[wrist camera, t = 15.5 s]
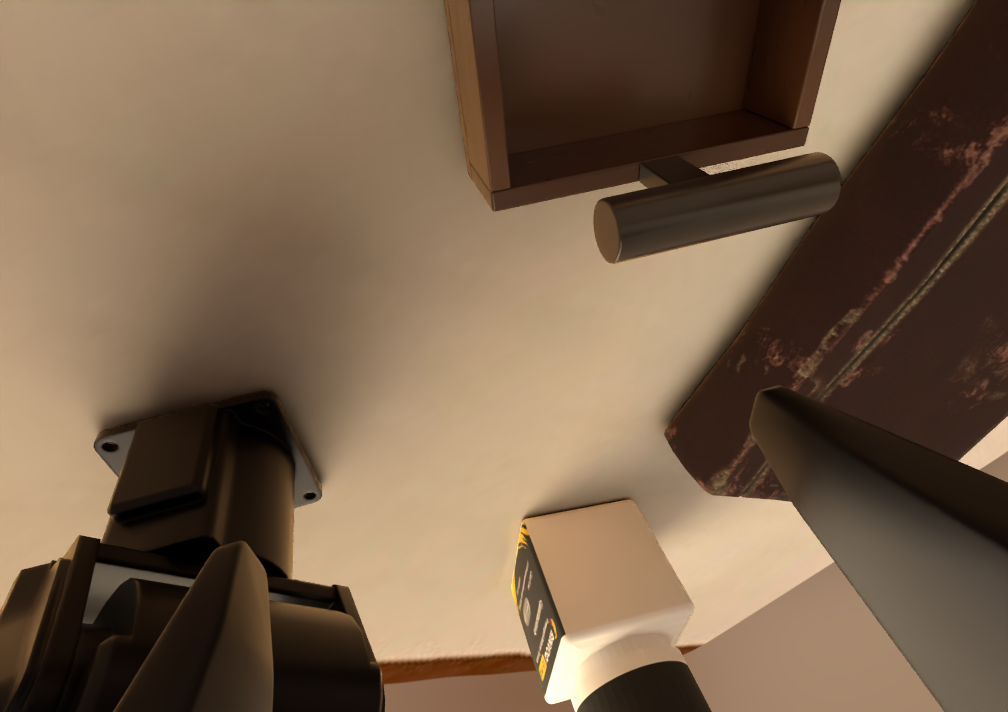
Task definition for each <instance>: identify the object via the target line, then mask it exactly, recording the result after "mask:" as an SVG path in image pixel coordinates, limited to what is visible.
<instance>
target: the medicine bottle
mask: <svg viewBox="0 0 1008 712" xmlns="http://www.w3.org/2000/svg"><path fill="white" fill-rule="evenodd" d="M511 590H512V593H513V597H514V600H515V603H516V606H517V610H518V613H519V616H520V619H521V623H522V626H523V629H524V632H525V636H526V639H527V642H528V645H529V649H530V652H531V655H532V658H533V662H534V665H535V668H536V671H537V675H538V678H539V681H540V684H541V687H542V691H543V694H544V697H545V700H546V701H547V703H549V704H554V703H558V702H561V701H565V700H568V699H571V701H572V703H573V707H574V709H575V712H711V710H710V708H709V706H708V704H707V702H706V700H705V698H704V696H703V694H702V692H701V690H700V688H699V687H698V685H697V683H696V681H695V679H694V677H693V675H692V673H691V671H690V669H689V668H688V666H687V663H686V662H685V660H684V658H683V656H682V654H681V652H680V650H679V649H678V648H676V647H675V645H676V643H677V641H678V639H679V637H680V635H681V634H682V632H683V630H684V628H685V626H686V624H687V622H688V620H689V619H690V617H691V615H692V613H693V610H694V605H693V603H692V601H691V599H690V597H689V596H688V594H687V592H686V590H685V589H684V587H683V585H682V584H681V582H680V580H679V578H678V577H677V575H676V573H675V571H674V570H673V568H672V566H671V564H670V563H669V561H668V559H667V557H666V556H665V554H664V552H663V551H662V549H661V547H660V545H659V544H658V542H657V540H656V538H655V537H654V535H653V533H652V531H651V530H650V528H649V526H648V524H647V523H646V521H645V519H644V518H643V516H642V514H641V512H640V511H639V509H638V507H637V505H636V504H635V502H634V501H632V500H623V501H618V502H612V503H607V504H602V505H596V506H591V507H586V508H580V509H575V510H570V511H565V512H559V513H554V514H549V515H543V516H538V517H533V518H527V519H524V520H523V521H522V523H521V527H520V534H519V540H518V547H517V553H516V559H515V566H514V572H513V579H512V585H511Z"/></svg>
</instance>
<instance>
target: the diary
mask: <svg viewBox="0 0 1008 712" xmlns="http://www.w3.org/2000/svg"><path fill="white" fill-rule="evenodd" d="M774 386H784V387H787V388H789V389H791V390H794V391H796V392H798V393H801V394H803V395H805V396H808V397H810V398H812V399H815V400H817V401H819V402H822V403H824V404H826V405H829V406H831V407H833V408H836V409H838V410H840V411H843V412H845V413H847V414H850V415H852V416H854V417H857V418H859V419H861V420H863V421H866V422H868V423H870V424H873V425H875V426H877V427H880V428H882V429H884V430H887V431H889V432H891V433H894V434H896V435H898V436H901V437H903V438H905V439H908V440H910V441H912V442H915V443H917V444H919V445H922V446H924V447H926V448H929V449H931V450H933V451H936V452H938V453H940V454H943V455H945V456H947V457H950V458H952V459H954V460H956V461H959V460H960V459H961V458H962V457H963V456H964V455H965V454H966V453H967V452H968V451H970V450H971V449H972V448H973V447H974V446H975V445H976V444H977V443H978V442H979V441H981V440H982V439H983V438H984V437H985V436H986V435H987V434H988V433H989V432H990V431H992V430H993V429H994V428H995V427H996V426H997V425H998V424H999V423H1000V422H1001V421H1003V420H1004V419H1005V418H1006V417H1007V416H1008V0H977V1H976V2H975V4H974V5H973V7H972V8H971V9H970V11H969V12H968V14H967V15H966V17H965V18H964V20H963V21H962V23H961V24H960V25H959V27H958V28H957V30H956V31H955V33H954V34H953V36H952V37H951V39H950V40H949V41H948V43H947V44H946V46H945V47H944V49H943V50H942V52H941V53H940V55H939V56H938V57H937V59H936V60H935V62H934V63H933V65H932V66H931V68H930V69H929V71H928V72H927V73H926V75H925V76H924V78H923V79H922V81H921V82H920V83H919V85H918V86H917V87H916V89H915V90H914V91H913V92H912V94H911V95H910V96H909V98H908V99H907V100H906V102H905V103H904V104H903V106H902V107H901V108H900V110H899V111H898V112H897V114H896V115H895V116H894V118H893V119H892V120H891V122H890V123H889V124H888V126H887V127H886V128H885V130H884V131H883V132H882V134H881V135H880V136H879V138H878V139H877V140H876V142H875V143H874V144H873V146H872V147H871V148H870V149H869V151H868V152H867V153H866V155H865V156H864V157H863V159H862V160H861V161H860V163H859V164H858V165H857V167H856V168H855V169H854V171H853V172H852V173H851V175H850V176H849V177H848V179H847V180H846V181H845V183H844V184H843V185H842V187H841V190H840V194H839V197H838V200H837V202H836V203H835V205H834V206H833V207H832V208H831V209H830V210H829V211H828V212H826V213H824V214H822V215H820V216H819V217H818V218H817V220H816V221H815V222H814V224H813V225H812V227H811V228H810V229H809V231H808V232H807V234H806V235H805V237H804V238H803V240H802V241H801V243H800V244H799V246H798V247H797V249H796V250H795V252H794V253H793V255H792V256H791V258H790V259H789V261H788V262H787V264H786V265H785V267H784V268H783V270H782V271H781V272H780V274H779V275H778V277H777V278H776V280H775V281H774V283H773V284H772V286H771V287H770V289H769V290H768V292H767V293H766V295H765V296H764V298H763V299H762V301H761V302H760V304H759V305H758V307H757V308H756V310H755V311H754V313H753V314H752V316H751V317H750V318H749V320H748V321H747V323H746V324H745V326H744V327H743V329H742V330H741V332H740V333H739V335H738V336H737V338H736V339H735V340H734V342H733V343H732V344H731V345H730V347H729V348H728V349H727V351H726V352H725V353H724V354H723V356H722V357H721V358H720V360H719V361H718V362H717V363H716V365H715V366H714V367H713V369H712V370H711V371H710V372H709V374H708V375H707V376H706V378H705V379H704V380H703V382H702V383H701V384H700V385H699V387H698V388H697V389H696V391H695V392H694V393H693V394H692V396H691V397H690V398H689V400H688V401H687V402H686V403H685V405H684V406H683V407H682V409H681V410H680V411H679V412H678V414H677V415H676V416H675V418H674V419H673V420H672V422H671V423H670V424H669V426H668V427H667V429H666V430H665V433H664V435H665V437H666V439H667V441H668V443H669V445H670V446H671V448H672V450H673V452H674V453H675V455H676V456H677V457H678V459H679V460H680V462H681V463H682V464H683V466H684V467H685V469H686V470H687V471H688V472H689V473H690V475H691V476H692V477H693V478H694V479H695V480H696V481H697V483H698V484H699V485H700V486H701V487H702V488H703V489H704V490H705V491H707V492H708V493H710V494H711V495H717V496H731V497H739V496H742V497H746V498H760V499H774V500H782V501H790V502H791V500H790V498H789V497H788V495H787V494H786V492H785V490H784V488H783V487H782V485H781V483H780V482H779V480H778V478H777V476H776V475H775V473H774V471H773V470H772V468H771V466H770V464H769V463H768V461H767V459H766V458H765V456H764V454H763V453H762V451H761V449H760V447H759V446H758V444H757V442H756V441H755V439H754V437H753V435H752V433H751V430H750V426H749V421H750V417H751V413H752V410H753V406H754V402H755V398H756V395H757V394H758V392H759V391H761V390H764V389H768V388H771V387H774Z"/></svg>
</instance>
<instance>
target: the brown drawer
mask: <svg viewBox="0 0 1008 712" xmlns="http://www.w3.org/2000/svg"><path fill="white" fill-rule="evenodd" d="M840 3H841V0H444V4H445V11H446V18H447V25H448V32H449V39H450V46H451V54H452V61H453V68H454V75H455V82H456V89H457V97H458V104H459V111H460V118H461V125H462V132H463V140H464V147H465V154H466V161H467V168H468V174H469V175H470V177H471V179H472V180H473V182H474V183H475V185H476V186H477V188H478V189H479V191H480V192H481V194H482V195H483V197H484V198H485V200H486V201H487V203H488V204H489V206H490V207H491V209H492V210H493V211H500V210H505V209H509V208H514V207H519V206H523V205H528V204H533V203H537V202H542V201H547V200H551V199H556V198H561V197H566V196H570V195H575V194H580V193H584V192H589V191H594V190H598V189H603V188H608V187H612V186H617V185H622V184H626V183H631V182H636V181H640V183H642V184H643V185H644V186H646V187H647V188H648V189H644V190H639V191H635V192H630V193H625V194H621V195H616V196H612V197H607V198H602V199H600V200H599V201H598V202H597V204H596V206H595V210H594V232H595V237H596V241H597V244H598V247H599V250H600V252H601V254H602V256H603V257H604V259H605V260H606V261H607V262H609V263H612V264H615V263H619V262H624V261H628V260H632V259H636V258H640V257H645V256H649V255H653V254H657V253H662V252H666V251H670V250H674V249H678V248H683V247H687V246H691V245H695V244H699V243H704V242H708V241H712V240H716V239H721V238H725V237H729V236H733V235H737V234H742V233H746V232H750V231H754V230H759V229H763V228H767V227H771V226H775V225H780V224H784V223H788V222H792V221H797V220H801V219H805V218H809V217H813V216H818V215H822V214H824V213H826V212H828V211H829V210H830V209H831V208H832V207H833V206H834V205H835V203H836V202H837V200H838V197H839V194H840V190H841V177H840V172H839V169H838V167H837V165H836V163H835V162H834V160H833V159H832V158H831V157H829V156H828V155H826V154H823V153H819V152H815V153H810V154H806V155H801V156H796V157H792V158H787V159H783V160H778V161H773V162H769V163H764V164H760V165H755V166H750V167H746V168H741V169H736V170H732V171H727V172H723V173H718V174H713V175H709V174H707V173H706V172H704V171H702V170H701V169H699V168H701V167H706V166H711V165H716V164H720V163H725V162H730V161H734V160H739V159H744V158H748V157H753V156H758V155H762V154H767V153H772V152H776V151H781V150H786V149H791V148H795V147H800V146H804V145H805V142H806V138H807V134H808V130H809V127H807V126H809V125H810V122H811V118H812V114H813V110H814V106H815V102H816V98H817V94H818V90H819V86H820V82H821V78H822V74H823V70H824V66H825V62H826V58H827V54H828V50H829V46H830V42H831V38H832V34H833V30H834V26H835V22H836V19H837V15H838V11H839V7H840Z"/></svg>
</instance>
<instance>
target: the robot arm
mask: <svg viewBox="0 0 1008 712" xmlns="http://www.w3.org/2000/svg"><path fill="white" fill-rule="evenodd" d="M260 403H268V404H269V405H268V406H262V405H260ZM749 426H750V430H751V433H752V435H753V437H754V439H755V441H756V442H757V444H758V446H759V447H760V449H761V451H762V453H763V454H764V456H765V458H766V459H767V461H768V463H769V464H770V466H771V468H772V470H773V471H774V473H775V475H776V476H777V478H778V480H779V482H780V483H781V485H782V487H783V488H784V490H785V492H786V494H787V495H788V497H789V498H790V500H791V502H792V503H793V505H794V506H795V508H796V509H797V511H798V512H799V513H800V515H801V516H802V518H803V519H804V520H805V522H806V523H807V524H808V526H809V527H810V529H811V530H812V531H813V533H814V534H815V535H816V537H817V538H818V540H819V541H820V542H821V544H822V545H823V546H824V548H825V549H826V550H827V552H828V553H829V555H830V556H831V557H832V559H833V560H834V561H835V563H836V564H837V565H838V567H839V568H840V570H841V571H842V572H843V574H844V575H845V576H846V578H847V579H848V581H849V582H850V583H851V585H852V586H853V587H854V589H855V590H856V591H857V593H858V594H859V596H860V597H861V598H862V600H863V601H864V602H865V604H866V605H867V606H868V608H869V609H870V611H872V613H873V615H874V616H875V617H876V619H877V620H878V621H879V623H880V624H881V625H882V627H883V628H884V630H885V631H886V632H887V633H888V635H889V637H890V638H891V639H892V640H893V642H894V643H895V645H896V646H897V647H898V649H899V650H900V652H901V653H902V654H903V656H904V657H905V658H906V660H907V661H908V662H909V664H910V665H911V667H912V668H913V669H914V671H915V672H916V673H917V675H918V676H919V678H920V679H921V680H922V682H923V683H924V684H925V686H926V687H927V688H928V690H929V691H930V692H931V694H932V695H933V697H934V698H935V699H936V701H937V702H938V703H939V705H940V706H941V708H942V709H943V710H944V712H1008V482H1005V481H1003V480H1000V479H998V478H996V477H994V476H991V475H989V474H987V473H984V472H982V471H980V470H977V469H975V468H973V467H970V466H968V465H966V464H963V463H961V462H959V461H956V460H954V459H952V458H950V457H947V456H945V455H943V454H940V453H938V452H936V451H933V450H931V449H929V448H926V447H924V446H922V445H919V444H917V443H915V442H912V441H910V440H908V439H905V438H903V437H901V436H898V435H896V434H894V433H891V432H889V431H887V430H884V429H882V428H880V427H877V426H875V425H873V424H870V423H868V422H866V421H863V420H861V419H859V418H857V417H854V416H852V415H850V414H847V413H845V412H843V411H840V410H838V409H836V408H833V407H831V406H829V405H826V404H824V403H822V402H819V401H817V400H815V399H812V398H810V397H808V396H805V395H803V394H801V393H798V392H796V391H794V390H791V389H789V388H787V387H784V386H774V387H771V388H768V389H764V390H761V391H759V392H758V394H757V395H756V398H755V402H754V406H753V410H752V413H751V417H750V421H749ZM108 442H113V443H116V444H110V443H108ZM94 449H95V451H96V452H97V453H98V454H99V455H100V456H101V458H102V459H103V460H104V461H105V462H106V463H107V465H108V466H109V467H110V468H111V469H112V470H113V472H114V473H115V474H116V475H117V476H118V477H119V478H118V481H117V484H116V487H115V489H114V492H113V495H112V498H111V501H110V503H109V506H108V509H107V513H108V514H109V515H110V519H109V522H108V525H107V527H106V530H105V533H104V536H103V539H102V542H101V543H100V540H101V539H96V538H91V537H86V536H81V535H79V536H78V537H77V538H76V540H75V541H74V543H73V544H72V546H71V547H70V549H69V550H68V552H67V553H66V555H65V556H64V558H59V560H58V561H54V560H52V561H51V563H48V564H44V565H40V566H36V567H32V568H28V569H24V570H21V572H20V573H19V575H18V576H17V578H16V579H15V581H14V583H13V585H12V587H11V589H10V591H9V593H8V596H7V598H6V600H5V602H4V604H3V606H2V609H1V611H0V712H385V695H384V685H383V681H382V672H381V669H380V666H379V665H378V663H377V662H376V659H375V657H374V654H373V651H372V649H371V646H370V643H369V641H368V638H367V635H366V633H365V630H364V627H363V625H362V622H361V619H360V617H359V614H358V611H357V609H356V606H355V603H354V600H353V598H352V595H351V592H350V590H349V588H348V587H345V586H340V585H332V586H326V585H320V584H315V583H310V582H305V581H299V580H294V579H292V564H293V528H294V508H297V507H300V506H304V505H307V504H311V503H314V502H317V501H318V500H319V499H321V497H322V486H321V484H320V482H319V480H318V478H317V476H316V474H315V472H314V470H313V468H312V466H311V464H310V462H309V460H308V458H307V456H306V454H305V452H304V450H303V448H302V446H301V444H300V442H299V439H298V437H297V435H296V433H295V431H294V429H293V427H292V425H291V423H290V421H289V419H288V417H287V415H286V413H285V411H284V409H283V407H282V405H281V403H280V401H279V399H278V397H277V396H276V395H275V394H273V393H272V392H268V391H260V392H256V393H252V394H248V395H244V396H240V397H236V398H232V399H228V400H224V401H220V402H216V403H212V404H206V405H202V406H198V407H194V408H190V409H186V410H182V411H178V412H174V413H170V414H166V415H162V416H157V417H153V418H149V419H145V420H142V421H140V422H136V423H132V424H128V425H124V426H120V427H115V428H111V429H107V430H104V431H102V432H100V433H99V434H98V435H97V438H96V440H95V442H94ZM308 492H312V493H308Z"/></svg>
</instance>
